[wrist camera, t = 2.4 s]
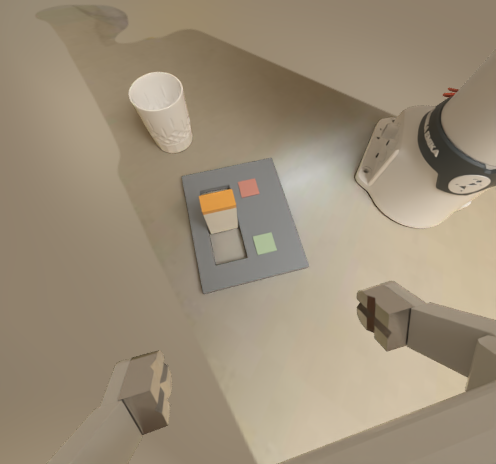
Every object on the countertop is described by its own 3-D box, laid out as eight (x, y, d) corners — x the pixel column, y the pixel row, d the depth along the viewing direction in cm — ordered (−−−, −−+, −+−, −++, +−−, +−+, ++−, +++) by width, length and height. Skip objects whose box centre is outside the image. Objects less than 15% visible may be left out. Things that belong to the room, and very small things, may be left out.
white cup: (150, 127, 45) (125, 77, 35) (190, 118, 46) (176, 67, 36) (157, 160, 42) (132, 116, 33) (200, 150, 43) (187, 104, 34)
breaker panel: (307, 267, 36) (309, 266, 35) (204, 294, 34) (202, 293, 33) (271, 161, 42) (271, 156, 41) (183, 179, 41) (181, 175, 40)
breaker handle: (238, 227, 38) (236, 204, 30) (211, 234, 37) (202, 212, 30) (234, 214, 38) (231, 188, 31) (208, 220, 38) (198, 195, 30)
